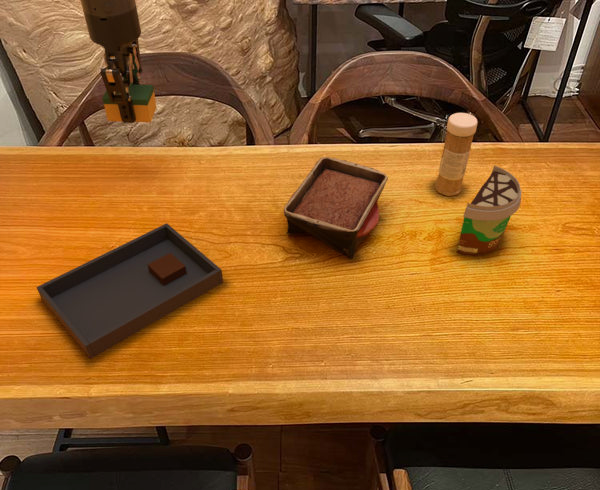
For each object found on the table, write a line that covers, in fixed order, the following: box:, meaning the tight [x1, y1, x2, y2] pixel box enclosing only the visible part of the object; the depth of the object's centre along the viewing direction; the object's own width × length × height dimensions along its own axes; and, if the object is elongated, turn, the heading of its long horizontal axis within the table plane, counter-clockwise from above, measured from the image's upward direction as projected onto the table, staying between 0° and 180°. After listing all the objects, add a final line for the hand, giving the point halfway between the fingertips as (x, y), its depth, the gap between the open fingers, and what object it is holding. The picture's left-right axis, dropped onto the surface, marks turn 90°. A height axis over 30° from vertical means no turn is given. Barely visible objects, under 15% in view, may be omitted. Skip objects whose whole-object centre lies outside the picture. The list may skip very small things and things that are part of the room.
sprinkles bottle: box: [435, 112, 479, 197], centre depth 97 cm, size 5×5×14 cm
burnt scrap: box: [148, 253, 187, 286], centre depth 86 cm, size 4×4×2 cm
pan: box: [35, 222, 224, 359], centre depth 83 cm, size 21×14×3 cm
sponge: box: [102, 84, 158, 124], centre depth 95 cm, size 7×5×4 cm
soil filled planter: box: [283, 156, 389, 259], centre depth 92 cm, size 14×18×10 cm
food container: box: [456, 165, 522, 257], centre depth 88 cm, size 12×6×10 cm, turn 148°
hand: (133, 112), depth 96 cm, fingers closed on sponge, 5 cm apart
